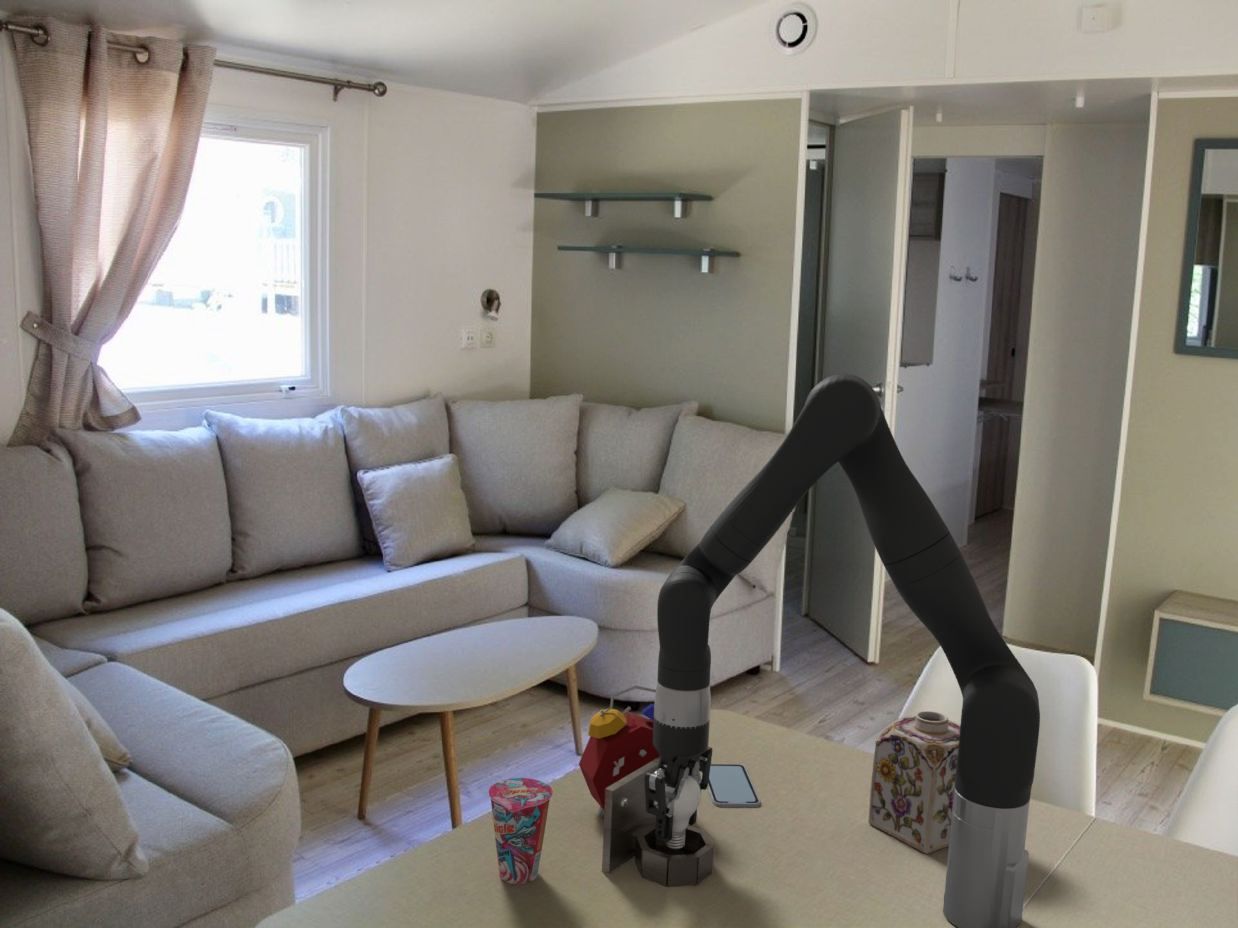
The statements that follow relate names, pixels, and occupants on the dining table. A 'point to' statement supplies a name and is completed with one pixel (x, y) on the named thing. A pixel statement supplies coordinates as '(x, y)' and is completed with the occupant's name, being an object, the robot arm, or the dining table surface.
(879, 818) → the decorative jar
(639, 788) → the bracket
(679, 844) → the lightbulb
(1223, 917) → the dining table surface
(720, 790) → the smartphone
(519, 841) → the cup
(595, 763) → the alarm clock
